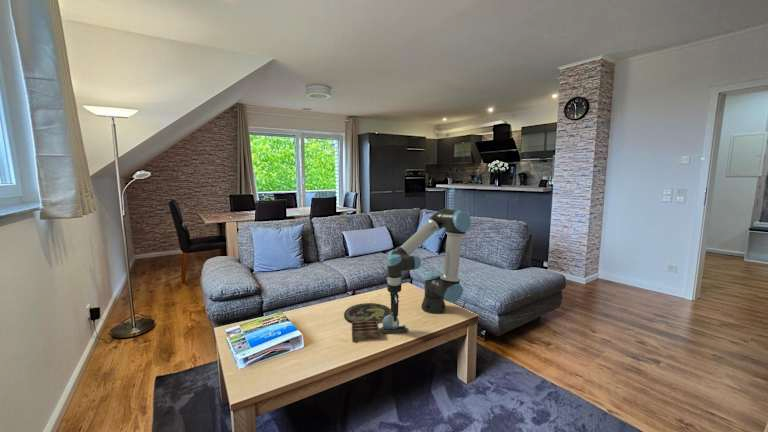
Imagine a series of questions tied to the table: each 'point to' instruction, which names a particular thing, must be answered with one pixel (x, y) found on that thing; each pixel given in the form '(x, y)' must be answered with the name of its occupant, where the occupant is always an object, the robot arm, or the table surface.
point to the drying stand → (400, 330)
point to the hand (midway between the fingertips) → (394, 325)
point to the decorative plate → (367, 313)
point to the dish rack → (365, 330)
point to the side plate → (389, 323)
